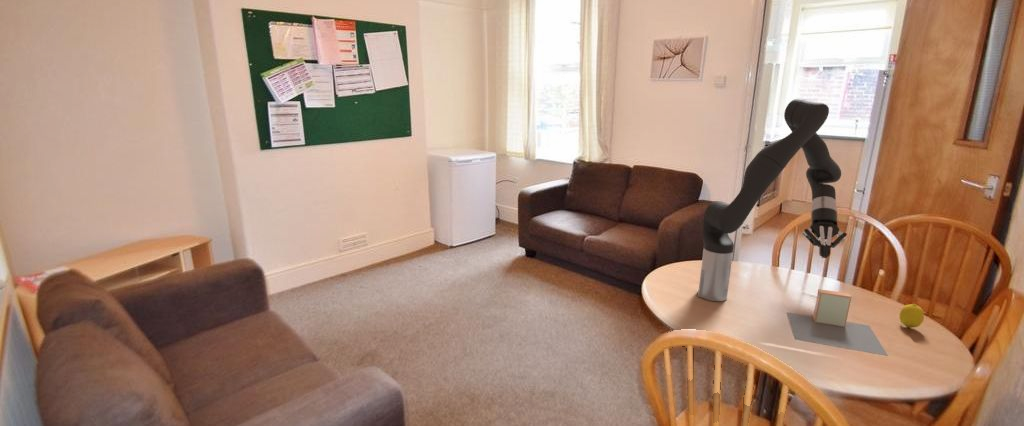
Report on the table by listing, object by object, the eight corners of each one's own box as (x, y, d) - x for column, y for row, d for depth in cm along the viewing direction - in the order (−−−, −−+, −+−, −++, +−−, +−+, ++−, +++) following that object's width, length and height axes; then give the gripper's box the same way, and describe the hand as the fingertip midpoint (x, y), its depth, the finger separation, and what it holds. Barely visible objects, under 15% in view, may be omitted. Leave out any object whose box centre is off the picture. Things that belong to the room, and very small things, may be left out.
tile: (814, 322, 145) (820, 292, 142) (812, 318, 148) (818, 289, 145) (845, 327, 142) (851, 297, 139) (843, 323, 145) (849, 293, 142)
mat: (794, 341, 136) (794, 339, 136) (786, 313, 152) (786, 312, 152) (887, 357, 128) (888, 355, 128) (868, 327, 144) (869, 325, 144)
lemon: (914, 334, 140) (921, 309, 137) (893, 326, 144) (899, 302, 142) (924, 330, 142) (930, 305, 140) (902, 322, 147) (908, 298, 145)
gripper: (804, 205, 165) (804, 249, 157) (849, 208, 160) (852, 254, 152) (799, 215, 171) (799, 259, 163) (843, 219, 166) (845, 264, 158)
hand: (825, 256), depth 158 cm, fingers closed
